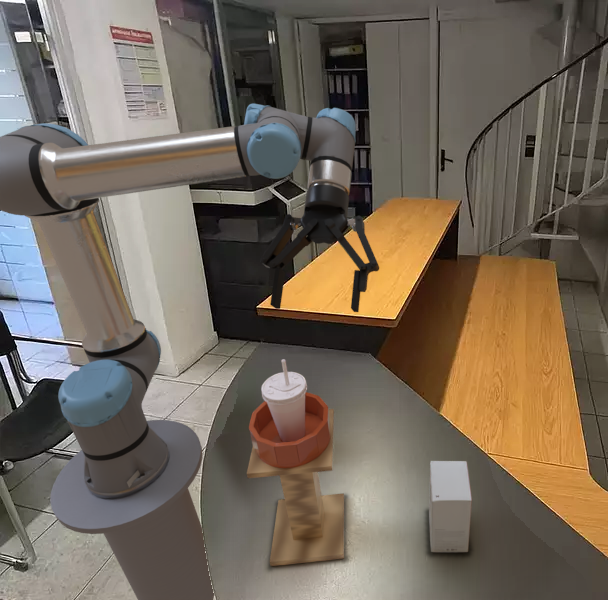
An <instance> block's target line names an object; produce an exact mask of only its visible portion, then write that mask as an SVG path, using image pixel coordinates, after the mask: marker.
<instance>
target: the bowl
mask: <svg viewBox="0 0 608 600" xmlns="http://www.w3.org/2000/svg"><path fill="white" fill-rule="evenodd" d="M329 409H330V408H329V406H328V404H327V403H326V402H325V401H324V400H323V399H322V398H321V396H319V395H317V394H314V393H311V392H308V391H306V393H305V436H304V437H303V438H301V439H299V440H297V441H292V442H283V441H282V440H281V438H280V435H279V433H278V430H277V427H276V425H275V422H274V420H273V417H272V414H271V412H270V409H269V407H268V404H267V402H266V401H265V400H263V402H262V403H261V404H260V405H258V406H257V407H256V408H255V409H254V410H253V411H252V413H251V417H250V421H249V425H248V431H249V435H250V439H251V444H252V448H253V447H254V448H255V450H256V453H257V456H258V457H259V458H260V459H261V460H262V461H263V462H264V463H266V464H268V465H270V466H273V467H277V468H293V467H298V466H302V465H304V464H307V463H309V462H311V461H313V460H314V459H316V458H317V457H318V456H320V455H321V454H322V453H323V452H324V450H325V449H326V448H327V446H328V444H329V441H330V437H331V431H330V426H331V424H330V416H329Z"/></svg>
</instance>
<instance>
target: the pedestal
mask: <svg viewBox="0 0 608 600" xmlns="http://www.w3.org/2000/svg"><path fill="white" fill-rule="evenodd" d="M328 409H329V416H330V424H331V426H330V431H331V437H330V441H329V444H328V446H327V448H326V449H325V450H324V452H323V453H322V454H321V455H320V456H318V457H317V458H316V459H314V460H313V461H311V462H309V463H307V464H304V465H302V466H298V467H293V468H277V467H273V466H270V465H268V464H266V463H264V462H263V461H262V460H261V459H260V458H259V457H258V456H257V453H256V450H255V448H254V447H253V446H252V448H251V453H250V456H249V461H248V465H247V470H246V476H247V479H257V478H267V477H276V476H279V478H280V483H281V488H282V493H283V498H281V499H278V501H277V507H276V514H275V522H274V528H273V535H272V542H271V548H270V555H269V556H270V557H269V565H270V567H276V566H277V567H278V566H287V565H294V564H296V565H297V564H304V563H313V562H314V563H315V562H323V561H332V560H343V559H345V493H334V494H322V490H321V489H322V488H321V484H320V483H321V482H320V475H319V473H321V472H332V471H333V460H334V433H335V431H334V429H335V428H334V427H335V409H334V408H328Z"/></svg>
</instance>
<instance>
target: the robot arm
mask: <svg viewBox="0 0 608 600" xmlns="http://www.w3.org/2000/svg"><path fill="white" fill-rule="evenodd" d="M356 126H357V125H356V121H355V119H354V117H353V115H352V114H350V113H349V112H348V111H346V110H345V109H342V108H338V107H333V108H329V107H326V108H323V109H321V110H319V111H318V113H317V114H316V117H314V116H306V115H303V114H298V113H295V112H291V111H287V110H283V109H280V108H276V107H272V106H271V105H269V104H268V105H263V104H260V103H259V104H258V103H250V104H248V106H247V107H246V111H245V115H244V121H243V124H242V125H233V126H226V127H217V128H210V129H201V130H194V131H185V132H177V133H172V134H163V135H156V136H148V137H141V138H135V139H134V138H132V139H125V140H119V141H118V140H117V141H109V142H101V143H95V144H88V143H87V141H86V140H85V139H83V138H82V136H80V135H79V134H78V133H76V132H74V131H72V130H71V129H69V128H67V127H65V126H62V125H59V124H56V123H37V124H31V125H24V126H21V127H20V128H17V129H16V130H14V131H11V132H9V133H6V134H4V135H1V136H0V211H2V212H4V213H6V214H11V215H15V216H23V217H25V218H29V219H31V220H32V221H36V222H37V223H38V225H39V228H40V230H41V232H42V234H43V236H44V239H45V241H46V243H47V246H48V248H49V250H50V252H51V254H52V257H53V260H54V262H55V264H56V266H57V268H58V271H59V273H60V275H61V278H62V280H63V283H64V284H65V287H66V289H67V291H68V294H69V297H70V298H71V300H72V302H73V306H74V308H75V310H76V312H77V314H78V317H79V319H80V321H81V324H82V325H83V328H84V330H85V332H86V333H85V335H84V337H83V338H82V340H81V346H82V348H83V350H84V353H85V354H86V357H87V360H88V363H86V364H84V365H81V366H80V367H79V368H78V369H79V370H73V371H72V372H70V373H69V374H68V375H67V377H66V378H65V379H64V380H63V381H62V383H61V385H60V387H59V390H58V393H57V394H58V395H57V397H58V402H59V405H60V410H61V413H62V415H63V417H64V418H65V420H66V421H67V424H68V425H69V426H70V429H71V431H72V433H73V435H74V437H75V438H76V442H77V443H78V445H79V448H80V450H82V451H83V453H84V481H85V484H86V486H87V488H88V490H89V491H90V493H91V494H92V495H94V496H96V497H98V498H101V499H118V498H123V497H127V496H130V495H132V494H135V493H137V492H139V491H141V490H143V489H144V488H146V487H148V486H149V485H150V484H152V483H153V482H154V481H155V480H156V479H158V478H159V476H160V475H161V474H162V473H163V472H164V470H165V469H166V467H167V465H168V462H169V450H168V448H167V445H166V443H165V442H164V440H163V439H162V438H160V437H159V436H158V435H157V434H156V433H155V432H154V431H153V430H152V429H151V428H150V427H149V426H148V423H147V421H148V420H147V418H146V415H145V412H144V410H143V401H144V399H145V396H146V394H147V392H148V389H149V387H150V384H151V383H152V379H153V378H154V375H155V373H156V371H157V369H158V368H159V364H160V363H161V362H160V361H161V354H162V347H161V344H160V340H159V338H158V337H157V335H155V333H153V331H152V330H148V329H147V328H146V325H145V324H144V322H142V321H140V320H138V319H135V318H134V316H133V314H132V311H131V309H130V306H129V303H128V301H127V298H126V295H125V293H124V290H123V286H122V285H121V282H120V278H119V277H118V273H117V271H116V269H115V265H114V263H113V261H112V258H111V255H110V253H109V250H108V246H107V244H106V241H105V239H104V237H103V234H102V231H101V228H100V225H99V223H98V220H97V218H96V215H95V208H96V207H97V206H98V204H99V202H100V199H101V198H107V197H108V198H109V197H115V196H121V195H128V194H134V193H135V194H136V193H142V192H149V191H155V190H161V189H162V190H163V189H168V188H169V189H171V188H175V187H183V186H189V185H190V186H191V185H196V184H197V185H198V184H203V183H211V182H217V181H225V180H233V179H238V178H245V177H251V176H252V177H253V176H260V175H261V176H263V177H265V178H268V179H273V180H274V179H276V180H278V179H282V178H286V177H287V176H289V175H291V174H292V173H293V172H294V170H296V168H297V166H298V164H299V162H300V161H301V160H303V161H308V162H310V165H309V172H308V177H307V178H308V179H307V186H306V188H307V190H306V193H305V200H304V201H305V202H304V209H303V215H302V216H301V217H297V216H296V217H295V216H293V215H292V214H290V213H287V214H285V216H284V220H283V222H282V223H283V224H282V226H281V228H280V229H279V231H278V232H277V234H276V235H275V236H274V238H273V239H272V241H271V242H270V243H269V245H268V247H267V248H266V249H265V251H264V253H263V255H262V256H261V257H260V259H259V261H260V263H261V264H262V265H263V266H264V267H265V268H267V269H269V275H268V281H267V285H268V287H269V288H271V297H270V304H269V305H270V306H271V307H273V308H274V309H276V310H280V309H281V306H282V298H283V291H284V284H285V276H286V271H284V268H285V267H286V266H287V265H288V264H289V263H290V262H291V261H293V259H294V258H295V257H296V256H297V255H298V254H299V253H300V252H302V250H303V249H304V248H306V247H308V246H310V244H312V243H314V244H316V245H317V244H319V245H320V244H327V245H333V244H334V243H336V242H338V243H339V245H340V246H341V248H342V249H343V250H344V251H345V253H346V254H347V255H348V257H349V258H350V259H351V261H352V262H353V263H354V264H355V266H356V267H357V269H354V272H353V283H352V292H351V303H350V309H351V310H352V312H353V313H359V310H360V302H361V301H360V300H361V293H366V291H367V289H368V281H369V280H368V277H369V274H370V273H373V272H378V271H379V270H380V265H379V263H378V261H377V258H376V256H375V254H374V251H373V249H372V246H371V245H370V241H369V240H368V237H367V235H366V231H365V228H366V227H365V222H364V218H363V217H362V216H361V215H356V216H355V218H348V211H349V203H350V196H349V195H350V192H351V183H352V175H353V174H352V171H353V165H354V164H353V163H354V155H355V146H356V142H357V141H356V132H357V131H356V130H357V129H356ZM300 226H301V227H302V229H300V231H299V232H298V233H297V234H296V237H295V238H294V239H293V240H292V241H291V242H290V243H288V242H289V240H290V239H291V238H292V236H293V234H294V232H295V231H297V230H298V228H299V227H300ZM349 227H350V228H351V230H352V231H353V232H355V233H356V234H357V237H358V239H359V242H360V244H361V246H362V248H363V251H364V253H365V255H366V258H367V260H368V262H365V261H364V260H363V259H362V258H361V256H360V255H359V254H358V252H357V251H356V250H355V248H354V247H353V246H352V245H351V244H350V242H349V241H348V240H347V238H346V237H345V236H344V233H345V232H346V231H347V230H348V229H349ZM287 244H288V245H287Z"/></svg>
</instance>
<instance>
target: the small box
mask: <svg viewBox="0 0 608 600" xmlns="http://www.w3.org/2000/svg"><path fill="white" fill-rule="evenodd" d="M469 473H470V472H469V467H468V461H467V460H430V462H429V497H428V498H429V501H428V522H429V523H428V524H429V541H430V543H429V544H430V553H468V552H469V545H470V531H471V530H470V529H471V519H472V518H471V517H472V504H473V497H472V488H471V481H470V474H469Z"/></svg>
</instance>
